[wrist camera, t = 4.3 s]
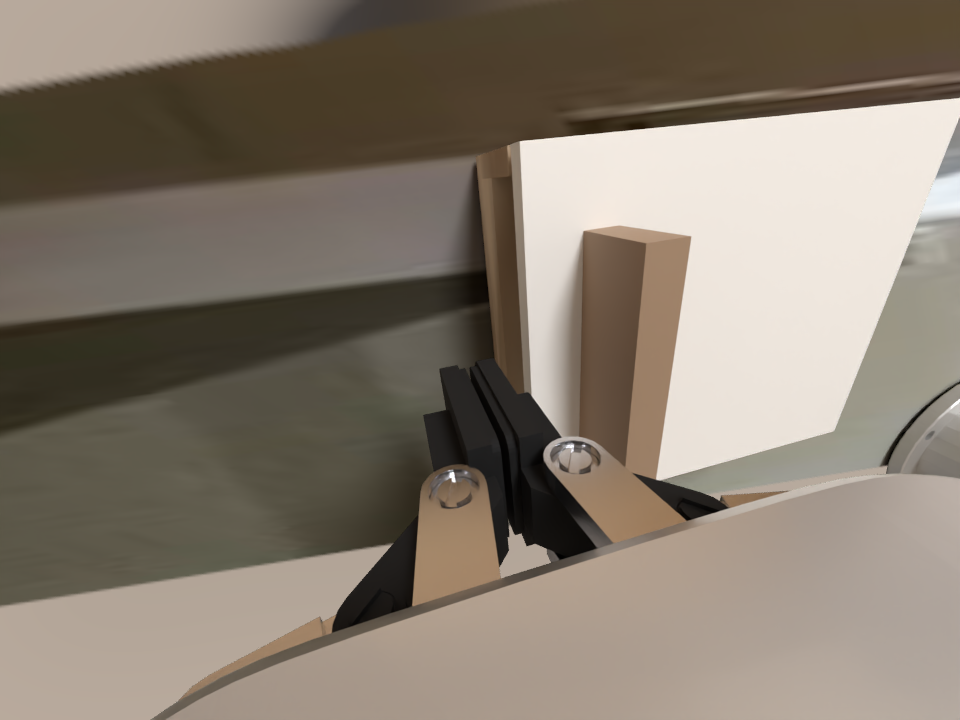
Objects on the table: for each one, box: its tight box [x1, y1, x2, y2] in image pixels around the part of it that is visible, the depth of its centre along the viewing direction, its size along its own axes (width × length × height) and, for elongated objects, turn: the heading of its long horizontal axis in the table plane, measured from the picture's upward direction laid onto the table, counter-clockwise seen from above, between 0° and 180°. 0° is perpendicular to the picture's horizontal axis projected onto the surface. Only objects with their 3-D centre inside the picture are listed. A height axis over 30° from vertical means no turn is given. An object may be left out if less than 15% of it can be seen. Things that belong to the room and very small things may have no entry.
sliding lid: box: [510, 98, 960, 480], centre depth 13 cm, size 16×14×4 cm
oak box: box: [476, 146, 524, 394], centre depth 17 cm, size 16×14×4 cm
